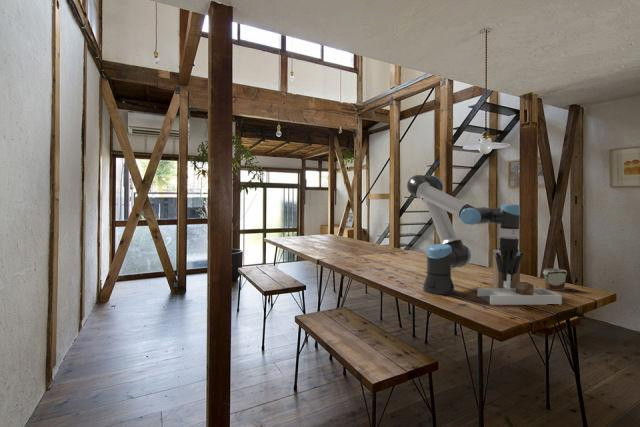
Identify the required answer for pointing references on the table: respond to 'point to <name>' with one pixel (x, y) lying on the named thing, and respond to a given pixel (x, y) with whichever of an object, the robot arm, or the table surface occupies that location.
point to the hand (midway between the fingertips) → (506, 287)
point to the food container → (555, 279)
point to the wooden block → (497, 275)
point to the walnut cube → (524, 288)
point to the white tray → (518, 296)
